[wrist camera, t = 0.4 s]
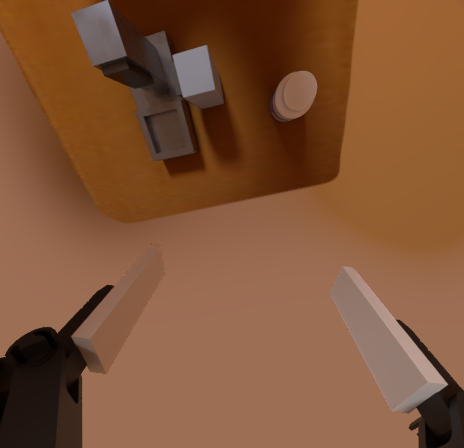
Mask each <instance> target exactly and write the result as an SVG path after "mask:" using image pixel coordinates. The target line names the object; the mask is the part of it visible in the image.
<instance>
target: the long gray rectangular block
mask: <svg viewBox="0 0 464 448" xmlns="http://www.w3.org/2000/svg"><path fill="white" fill-rule="evenodd" d="M172 56H173V60H174V63H172V64H169V66H170V70H171V74H172V78H173V81H174V85H175V89H176V93H177V95H178V96H179V97H181V98H183V99H184V100H186V101H188V102H189V103H193V104H194V105H196V106H197V107H199V108H200V109H205V108H209V107H213V106H217V105H221V104H224V99H223V93H222V87H221V82H220V76H219V73H218V70H217V68H216V66H215V63H214V61H213V59H212V56H211V54H210V51H209V49H208V47H207V45H204V46H201V47H198V48H194V49H191V50H188V51H184V52H181V53H178V54H174V55H172Z"/></svg>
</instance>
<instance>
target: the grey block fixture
mask: <svg viewBox="0 0 464 448" xmlns="http://www.w3.org/2000/svg"><path fill="white" fill-rule="evenodd" d="M71 14H72V17H73V19H74V22H75V24H76V27H77V29H78V31H79V34H80V36H81V39H82V41H83V44H84V46H85V48H86V51H87V53H88V56H89V58H90V60H91V63H92V65H93V66H94V67H96V68H98V69H100V70H102V72H103V74H104V76H106V77H108V78H110V79H113V80H115V81H117V82H120V83H122V84H124V85H127V86H129V87H131V90H132V93H133V96H134V99H135V102H136V104H137V107H138V110H136V111H135V112H136V115H137V118H138V120H139V123H140V126H141V129H142V131H143V134H144V137H145V140H146V142H147V145H148V148H149V151H150V153H151V156H152V159H153V161H154V160H156V161H159V160H164V159H169V158H174V157H179V156H184V155H189V154H193V153H197V152H199V148H198V144H197V140H196V136H195V132H194V128H193V124H192V120H191V116H190V112H189V108H188V104H187V101H186V100H184V99H183V98H181V97H179V96H178V95H177V93H176V89H175V85H174V81H173V78H172V74H171V70H170V66H169V64H172V63H174V60H173V56H172V55H174V54H175V52H174V48H173V44H172V40H171V38H170V37H169V36H168V34H167V33H166V32H165V30H164V31H161V32H158V33H155V34H152V35H149V36H146V37H145V36H144V35H143V34H142V33H141V32H140V31H139V30H138V29H137V28H136V27H135V26H134V25H133V24H132V23H131V22H130V21H129V20H128V19H127V18H126V17H125V16H123V15H122V14H121V13H120V12H119V11H118V10H117V9H116V8H115V7H114V6H113V5H112V4H111V3H110V2H109V1H108V0H106V1H103V2H100V3H98V4H95V5H92V6H90V7H87V8H84V9H81V10H79V11H76V12H73V13H71Z"/></svg>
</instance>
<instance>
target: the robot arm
mask: <svg viewBox="0 0 464 448" xmlns="http://www.w3.org/2000/svg"><path fill="white" fill-rule="evenodd" d="M164 274H165V273H164V264H163V255H162V245H156V244H151V245H150V246H149V247H148V248H147V249H146V250H145V252H144V253H143V254H142V255H141V256H140V257H139V259H138V260H137V261H136V262H135V263H134V264H133V265H132V267H131V268H130V269H129V270H128V271H127V272H126V274H125V275H124V276H123V277H122V278H121V279H120V281H119V282H118V283H117V284H116V285H115V286H112V285H106V286H105V287H103V288H102V289H100V290H99V291H97V292H96V293H95V294H94V295H93V296H92V298H91V299H90V300H89V302H87V303H86V304H85V305H84V306H83V308H82V309H80V310H79V311H78V312H77V313H76V314H75V315H74V316H73V318H72V319H71V320H70V321H69V322H68V323H67V324H66V325H65V326H64V327H63V328H62V329H61V330H60V331H59V332H58V333H57V332H56V331H55V330H54V329H53V328H51V327H43V328H39V329H35V330H33V331H31V332H29V333H27V334H25V335H24V336H22V337H21V338H19V339H18V340H16V342H14V344H12V345H11V346H10V348H9V349H8V351H7V352H6V354H5V356H6V357H3V358H0V448H82V376H81V373H82V371H83V370H84V369H85V367H86V366H87V367H88V369H89V370H90V372H96V373H103V374H106V373H107V372H108V370H109V368H110V367H111V365H112V363H113V362H114V360H115V358H116V356H117V355H118V353H119V351H120V350H121V348H122V346H123V344H124V343H125V341H126V339H127V337H128V336H129V334H130V332H131V331H132V329H133V327H134V325H135V324H136V322H137V320H138V318H139V317H140V315H141V313H142V312H143V310H144V308H145V307H146V305H147V303H148V301H149V300H150V298H151V296H152V294H153V293H154V291H155V289H156V288H157V286H158V284H159V282H160V281H161V279H162V277H163V275H164ZM329 294H330V296H331V298H332V300H333V302H334V304H335V306H336V307H337V309H338V311H339V313H340V315H341V317H342V319H343V321H344V322H345V324H346V326H347V328H348V330H349V332H350V334H351V336H352V338H353V339H354V341H355V343H356V345H357V347H358V349H359V351H360V353H361V354H362V357H363V359H364V360H365V362H366V364H367V366H368V368H369V370H370V372H371V374H372V375H373V377H374V379H375V381H376V383H377V385H378V387H379V389H380V391H381V392H382V394H383V396H384V398H385V400H386V402H387V404H388V406H389V408H390V410H391V411H394V412H402V413H410V412H411V411H413V410H414V409H415V408H417V409H418V411H419V412H420V414H421V417H420V418H418V419H417V420H415V421H414V422H412V423H411V424H410V426H409V429H410V430H414V429H416V428H417V427H419V428H418V430H419V433H417V435H418V436H419V448H464V390H463V389H462V388H461V387H460V386H459V385H458V384H457V383H456V382H455V380H454V379H453V378H452V377H451V376H450V374H449V373H448V372H447V371H446V370H445V369H444V367H443V366H442V365H441V364H440V363H439V362H438V360H437V359H436V358H435V357H434V356H433V355H432V353H431V352H430V351H428V349H427V347H426V346H425V345H424V344H423V343H422V342H420V339H419V338H418V337H417V336H416V335H415V333H414V332H413V331H412V330H411V329H410V328H409V327H408V326H406V325H405V324H404V323H403V322H402V321H400V320H395V318H394V317H393V316H392V315H391V314H390V312H388V310H387V309H386V307H385V306H384V305H383V304H382V302H381V301H380V300H379V299H378V298H377V296H376V295H375V294H374V293H373V291H372V290H371V289H370V288H369V286H368V285H367V284H366V283H365V282H364V280H363V279H362V278H361V277H360V276H359V274H358V273H357V272H356V270H355V269H354V268H353V267H344V266H343V267H342V268H341V270H340V272H339V274H338V277H337V278H336V280H335V283H334V285H333V287H332V289H331V291H330V293H329Z"/></svg>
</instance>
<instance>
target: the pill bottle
mask: <svg viewBox="0 0 464 448" xmlns="http://www.w3.org/2000/svg"><path fill="white" fill-rule="evenodd" d="M316 93H317V82H316V79H315V77H314V76H313V75H312V74H311V73H310V72H308V71H299V72H293V73H290V74H288V75H287V76H286V77H284V78H283V79H282V81H281V82H280V83H279V85H278V86H277V88H276V90H275V91H274V93H273V95H272V98H271V101H270V109H271V113H272V115H273V116H274V117H275V118H276V119H277V120H279V121H282V122H286V121H290V120H292V119H295V118H298V117H300V116H302V115H303V114H305V113H306V112H307V111H308V110H309V108H310V107H311V105H312V103H313V100H314V98H315V96H316Z"/></svg>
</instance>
